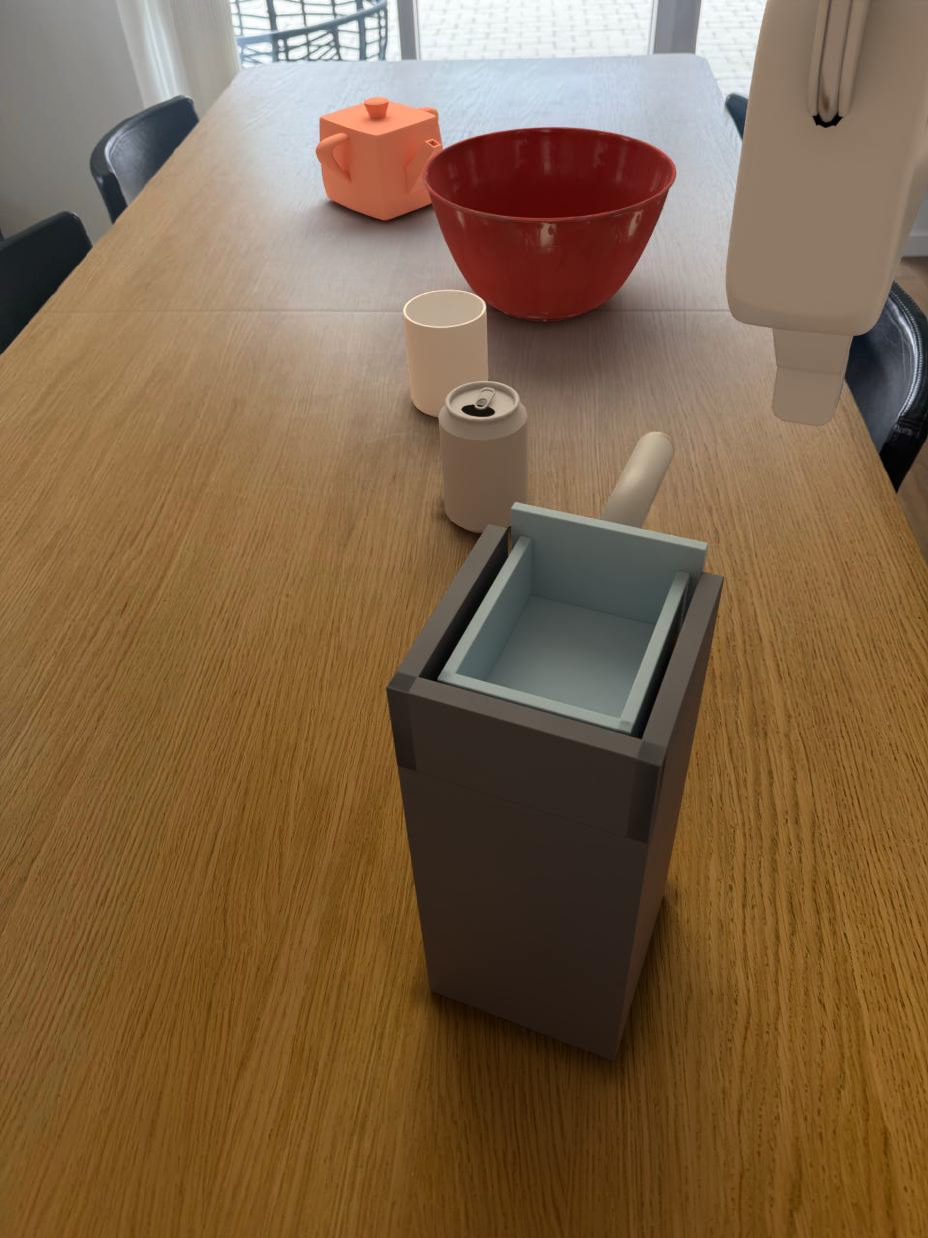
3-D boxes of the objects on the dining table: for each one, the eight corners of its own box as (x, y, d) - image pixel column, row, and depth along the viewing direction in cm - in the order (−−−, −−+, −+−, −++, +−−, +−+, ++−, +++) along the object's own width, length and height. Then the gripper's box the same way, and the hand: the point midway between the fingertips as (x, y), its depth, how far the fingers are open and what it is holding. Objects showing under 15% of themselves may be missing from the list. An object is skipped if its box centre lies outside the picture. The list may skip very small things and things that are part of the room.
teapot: (296, 209, 143) (280, 107, 134) (409, 169, 154) (401, 71, 144) (381, 246, 132) (370, 138, 123) (496, 200, 143) (494, 96, 133)
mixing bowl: (707, 284, 120) (724, 152, 109) (572, 379, 105) (577, 237, 94) (526, 232, 134) (526, 111, 123) (384, 310, 118) (370, 179, 108)
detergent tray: (734, 513, 52) (751, 424, 49) (634, 803, 39) (647, 712, 35) (575, 481, 55) (579, 394, 51) (431, 742, 42) (422, 651, 38)
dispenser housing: (664, 893, 60) (724, 575, 42) (614, 1062, 52) (661, 766, 34) (498, 838, 63) (487, 523, 45) (429, 991, 56) (385, 687, 38)
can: (432, 529, 87) (422, 413, 78) (463, 482, 92) (457, 368, 83) (511, 546, 85) (509, 428, 76) (538, 497, 90) (539, 382, 81)
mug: (440, 358, 109) (434, 270, 102) (509, 368, 107) (508, 278, 100) (399, 413, 101) (389, 321, 94) (473, 425, 99) (469, 332, 92)
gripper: (1069, -161, 15) (888, 538, 24) (1081, -220, 29) (962, 245, 38) (681, -137, 18) (647, 493, 27) (860, -202, 31) (797, 232, 40)
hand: (832, 345), depth 33 cm, fingers open, 8 cm apart
